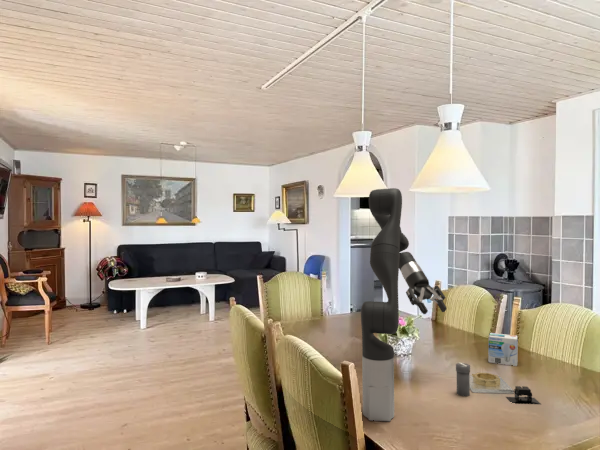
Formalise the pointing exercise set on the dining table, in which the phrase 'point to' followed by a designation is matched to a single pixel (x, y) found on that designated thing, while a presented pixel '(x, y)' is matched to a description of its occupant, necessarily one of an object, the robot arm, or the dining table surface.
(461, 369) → the dark grey capped cylinder
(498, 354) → the light bulb box
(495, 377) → the hub plate
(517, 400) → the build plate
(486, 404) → the dining table surface
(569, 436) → the dining table surface
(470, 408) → the dining table surface
